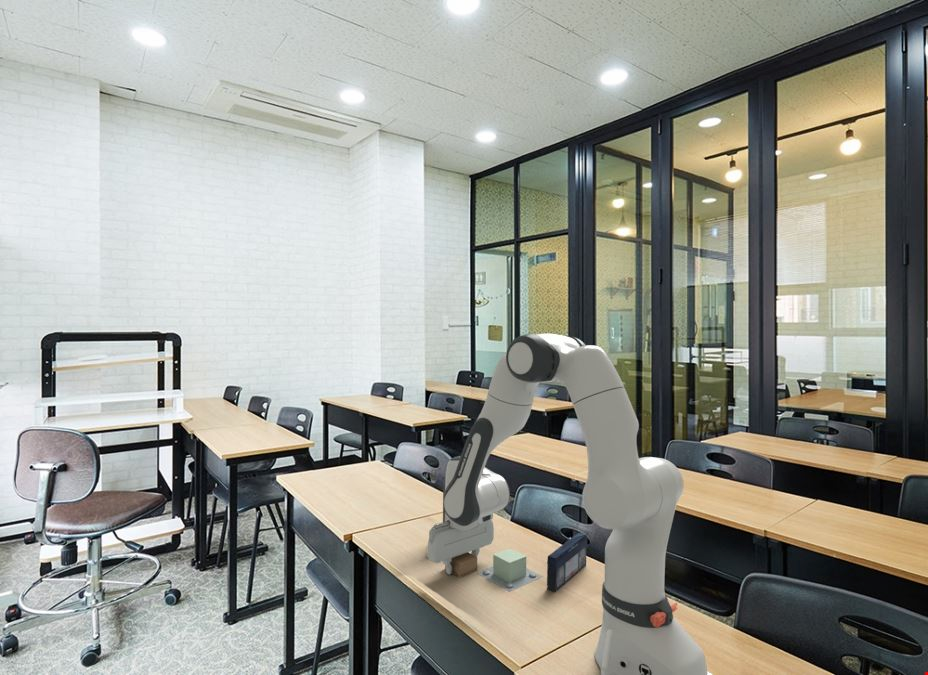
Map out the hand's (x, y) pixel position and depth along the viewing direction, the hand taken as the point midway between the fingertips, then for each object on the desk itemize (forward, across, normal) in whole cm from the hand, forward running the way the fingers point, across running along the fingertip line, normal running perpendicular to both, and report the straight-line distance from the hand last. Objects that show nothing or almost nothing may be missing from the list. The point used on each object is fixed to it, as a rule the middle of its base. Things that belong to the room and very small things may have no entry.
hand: (461, 568), depth 132 cm
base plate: (+2, +8, -10) cm, 13 cm away
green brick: (0, +8, -10) cm, 13 cm away
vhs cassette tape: (+2, +19, -20) cm, 28 cm away
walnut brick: (+2, 0, 0) cm, 2 cm away
